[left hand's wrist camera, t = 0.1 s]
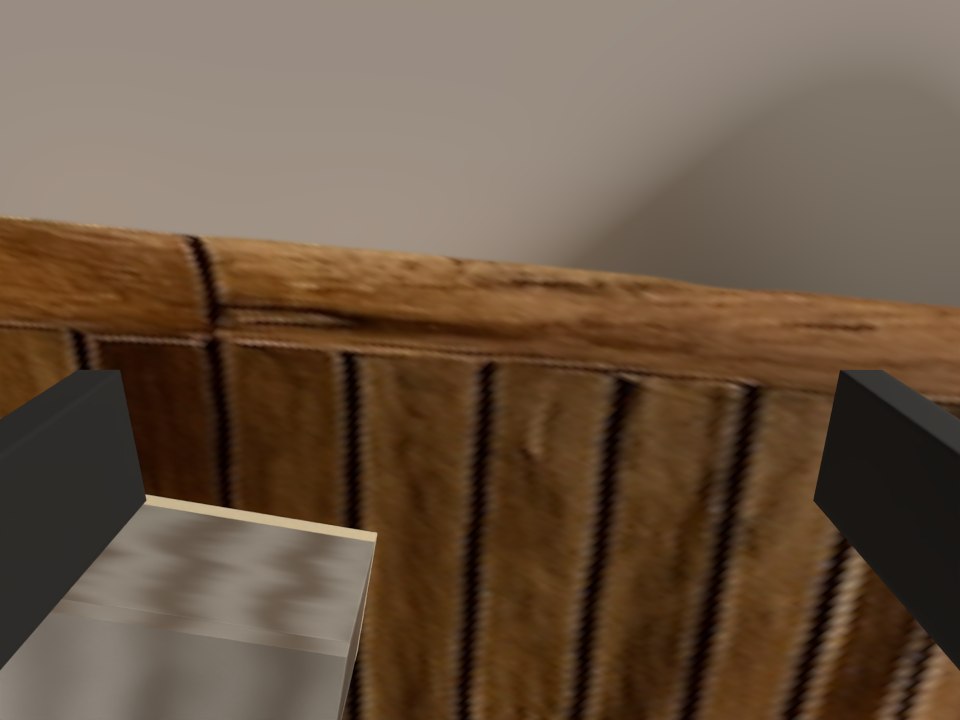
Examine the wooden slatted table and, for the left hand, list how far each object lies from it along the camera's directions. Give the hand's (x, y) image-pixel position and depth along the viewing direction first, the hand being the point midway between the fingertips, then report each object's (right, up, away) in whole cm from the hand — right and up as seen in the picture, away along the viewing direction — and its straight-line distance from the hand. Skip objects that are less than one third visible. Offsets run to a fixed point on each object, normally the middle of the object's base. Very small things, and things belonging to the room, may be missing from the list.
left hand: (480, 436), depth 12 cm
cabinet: (-18, -14, +35) cm, 42 cm away
